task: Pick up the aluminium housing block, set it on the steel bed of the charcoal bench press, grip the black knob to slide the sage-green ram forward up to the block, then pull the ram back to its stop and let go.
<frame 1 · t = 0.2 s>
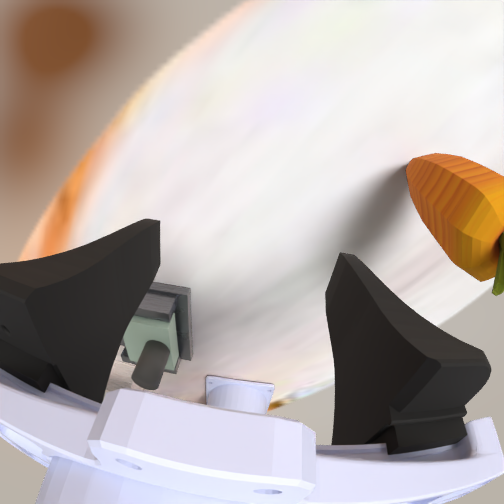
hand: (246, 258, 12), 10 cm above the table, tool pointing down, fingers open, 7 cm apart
housing: (126, 372, 34), on the table
press: (114, 308, 28), on the table
carrot: (410, 165, 18), on the table
ram: (143, 353, 24), point 5 cm above the table, slide at 0.0 cm
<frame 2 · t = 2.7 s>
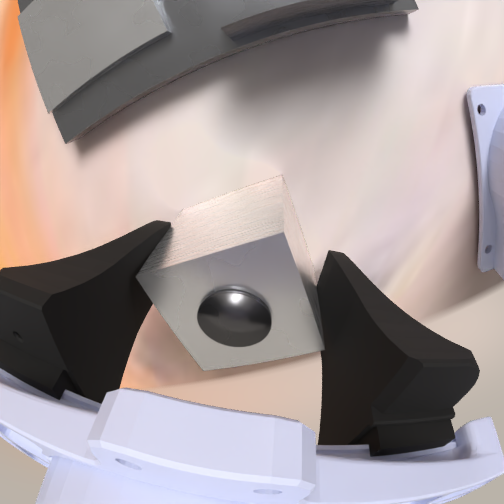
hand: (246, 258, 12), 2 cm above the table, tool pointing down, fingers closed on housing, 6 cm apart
housing: (249, 238, 13), on the table, touching gripper
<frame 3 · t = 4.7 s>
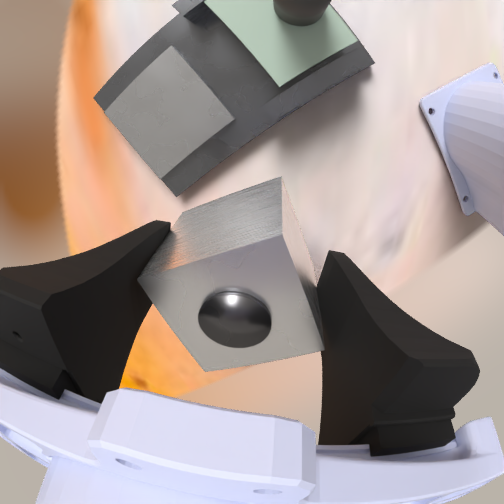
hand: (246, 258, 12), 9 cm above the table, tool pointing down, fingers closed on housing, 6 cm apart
housing: (250, 239, 13), point 7 cm above the table, touching gripper
press: (211, 77, 16), on the table
ram: (281, 10, 10), point 5 cm above the table, slide at 0.0 cm
when the fingers open (4 cm above the table, at t = 6.8 s): housing stays where it is, resting on press.
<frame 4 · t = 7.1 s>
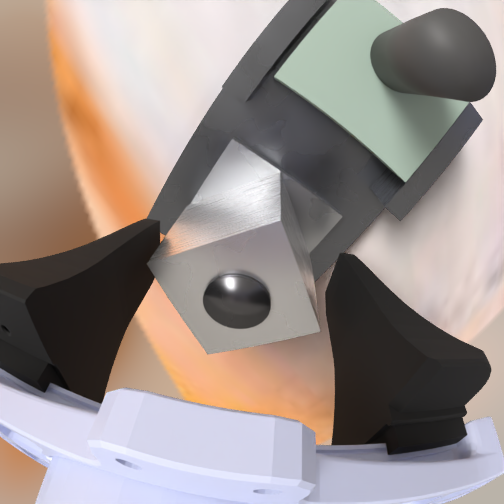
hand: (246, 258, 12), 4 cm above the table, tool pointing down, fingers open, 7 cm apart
housing: (250, 231, 14), point 1 cm above the table, touching press
press: (293, 164, 14), on the table
ram: (395, 80, 7), point 5 cm above the table, slide at 0.0 cm
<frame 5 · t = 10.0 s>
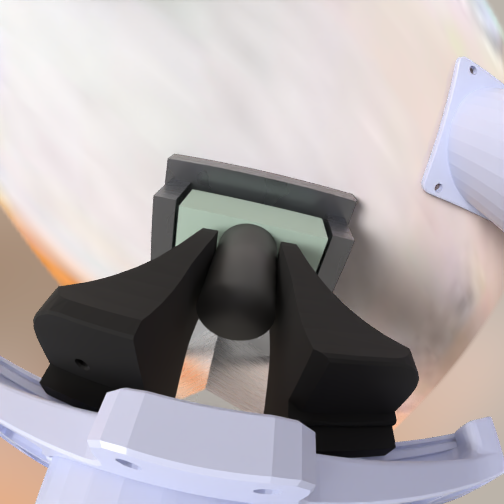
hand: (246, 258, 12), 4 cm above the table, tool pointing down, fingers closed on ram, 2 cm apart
housing: (223, 353, 19), point 1 cm above the table, touching press
press: (234, 302, 19), on the table
ram: (240, 283, 12), point 5 cm above the table, slide at 0.0 cm, touching gripper
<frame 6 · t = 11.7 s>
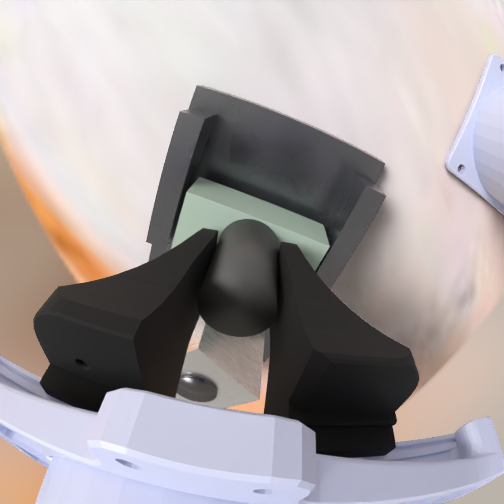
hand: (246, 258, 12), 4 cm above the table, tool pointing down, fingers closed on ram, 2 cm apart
housing: (212, 319, 17), point 1 cm above the table, touching press
press: (233, 260, 17), on the table
ram: (237, 278, 12), point 5 cm above the table, slide at 2.8 cm, touching gripper
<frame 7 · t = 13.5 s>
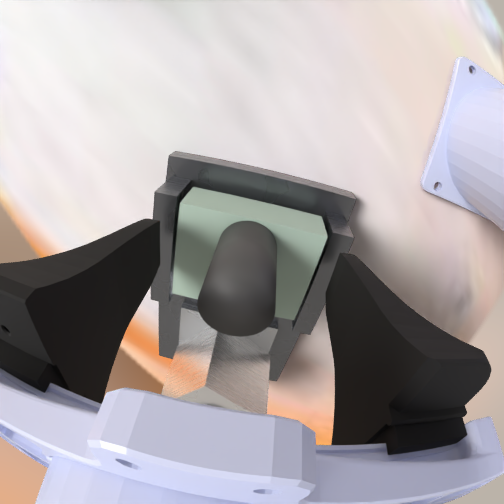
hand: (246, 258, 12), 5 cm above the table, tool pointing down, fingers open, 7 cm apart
housing: (222, 351, 19), point 1 cm above the table, touching press
press: (233, 299, 19), on the table
ram: (240, 280, 12), point 5 cm above the table, slide at 0.0 cm
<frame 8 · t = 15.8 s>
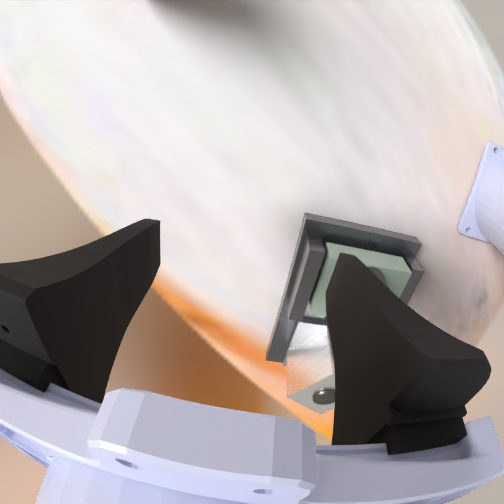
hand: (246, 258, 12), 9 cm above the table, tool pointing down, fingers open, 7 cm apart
housing: (321, 350, 25), point 1 cm above the table, touching press
press: (331, 312, 25), on the table
ram: (364, 303, 18), point 5 cm above the table, slide at 0.0 cm
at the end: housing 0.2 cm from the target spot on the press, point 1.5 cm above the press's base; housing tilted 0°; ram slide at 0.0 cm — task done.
